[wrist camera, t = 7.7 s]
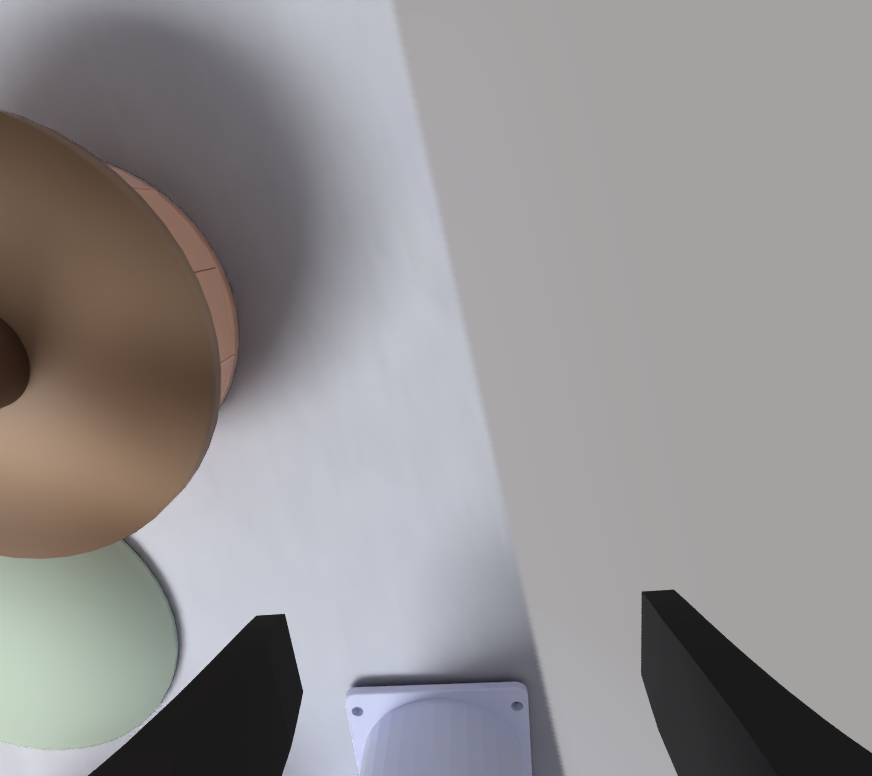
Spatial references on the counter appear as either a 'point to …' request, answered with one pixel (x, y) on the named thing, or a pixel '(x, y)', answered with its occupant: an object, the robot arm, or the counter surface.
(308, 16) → the counter surface
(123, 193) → the lid
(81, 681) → the mat
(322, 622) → the counter surface
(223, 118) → the counter surface
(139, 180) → the bowl
